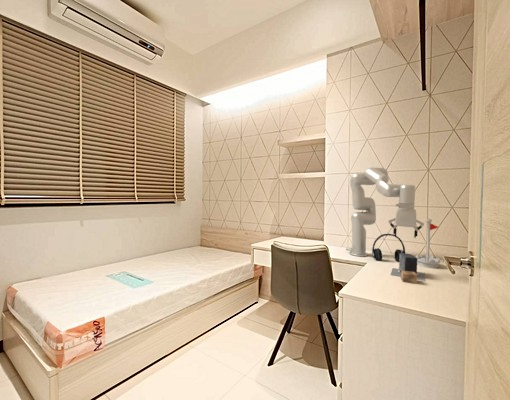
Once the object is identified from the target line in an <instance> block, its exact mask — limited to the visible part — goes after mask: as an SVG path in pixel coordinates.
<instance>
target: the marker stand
mask: <svg viewBox="0 0 510 400" xmlns="http://www.w3.org/2000/svg"><path fill="white" fill-rule="evenodd" d="M425 221H426V252H425V253H426V254H421V255H420V254H415V257H416V258H417V266H419V267H424V268H427V269H436V268H437V267H438V268H439V265H440V264H441V258H440V257H439V256H436V258H435V256H434V255H430V243H431V241H430V240H431V239H430V238H431V231H432V230H435V229H438V228H439V226H438V225H435V224H433V223H432V218H427V219H426V220H425Z"/></svg>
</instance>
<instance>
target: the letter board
mask: <svg viewBox="0 0 510 400" xmlns="http://www.w3.org/2000/svg"><path fill="white" fill-rule="evenodd" d="M390 276H392V277H399V278H401V272H400V271H399V268H395V267H392V269H391V272H390ZM417 281H422V282H426V274H425V272H421V271H417Z"/></svg>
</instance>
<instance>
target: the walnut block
mask: <svg viewBox="0 0 510 400" xmlns="http://www.w3.org/2000/svg"><path fill="white" fill-rule="evenodd" d="M400 280H401V281H402V282H403V283H407V284H415V285H417V284H418V283H417V282H418V280H417V275H416V273H415V272H411V271H402V270H401V277H400Z"/></svg>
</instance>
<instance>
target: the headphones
mask: <svg viewBox="0 0 510 400" xmlns="http://www.w3.org/2000/svg"><path fill="white" fill-rule="evenodd" d="M386 236H388V237H389V236H391V237H394V238H396V239H397V240H399V242H400V243H401V245H402V249H399V248H397V249H395V251H394V261H396V262H399V259H400V253H406V248H405V245H404V244H405V243H404V241H402V239H401V238H400V237H399V236H397V235H396V236H395V234H393V233H382V234H380V235H379V236H377V238H375V240H374V242H373V244H372V247H371V249H372V251H371V253H372V254H371V255H372V258H373V259H374V260H375V261H383V253H382V250H381V249H380V248H378V247H377V248H375V246H376V243H377V241H378V240H379V239H381V238H382V237H386Z"/></svg>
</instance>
